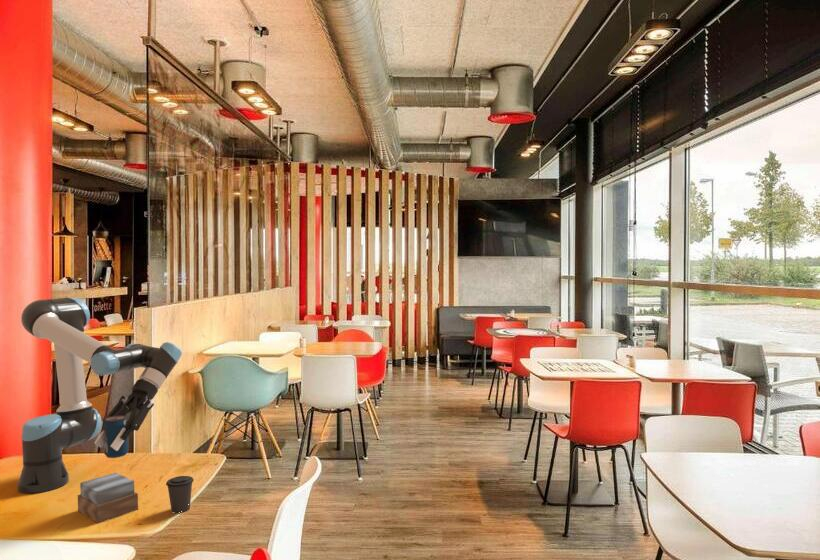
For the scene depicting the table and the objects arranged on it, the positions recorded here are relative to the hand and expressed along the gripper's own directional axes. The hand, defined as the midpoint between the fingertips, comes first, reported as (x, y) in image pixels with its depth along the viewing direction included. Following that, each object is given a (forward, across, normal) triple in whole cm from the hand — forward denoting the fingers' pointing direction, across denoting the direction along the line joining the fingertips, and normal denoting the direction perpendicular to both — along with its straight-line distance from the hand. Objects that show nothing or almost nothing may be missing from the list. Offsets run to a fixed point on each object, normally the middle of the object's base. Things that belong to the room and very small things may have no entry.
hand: (105, 446), depth 183 cm
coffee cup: (+7, -20, -22) cm, 31 cm away
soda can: (0, 0, -5) cm, 5 cm away
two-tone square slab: (+14, 0, -14) cm, 20 cm away
